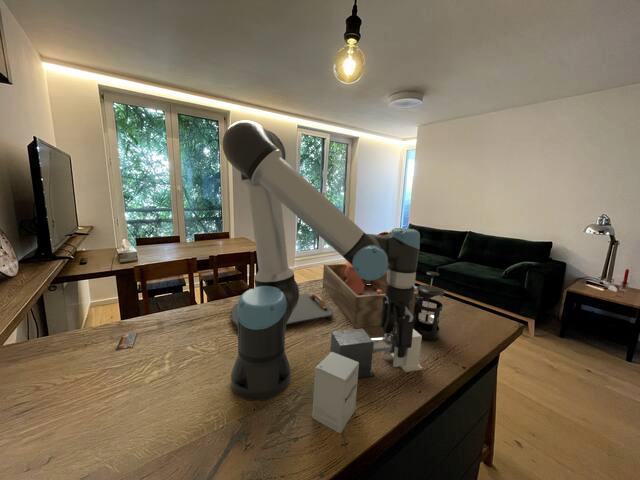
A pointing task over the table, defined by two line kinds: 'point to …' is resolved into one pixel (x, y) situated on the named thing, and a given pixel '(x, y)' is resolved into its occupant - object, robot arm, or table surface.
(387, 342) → the rod
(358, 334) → the dark grey block
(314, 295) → the serving board
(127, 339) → the chocolate bar
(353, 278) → the ceramic vessels
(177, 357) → the table surface
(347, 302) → the box
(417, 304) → the french press
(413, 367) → the socket
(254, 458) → the table surface
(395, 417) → the table surface
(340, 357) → the supplement box
